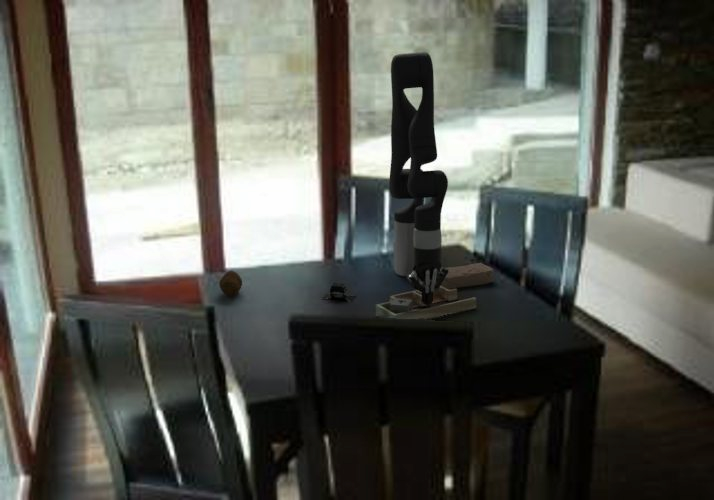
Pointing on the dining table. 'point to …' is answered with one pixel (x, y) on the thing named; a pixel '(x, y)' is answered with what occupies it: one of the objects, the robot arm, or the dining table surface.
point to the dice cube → (401, 305)
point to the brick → (468, 276)
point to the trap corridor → (436, 311)
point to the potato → (230, 283)
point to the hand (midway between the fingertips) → (427, 304)
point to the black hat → (339, 297)
